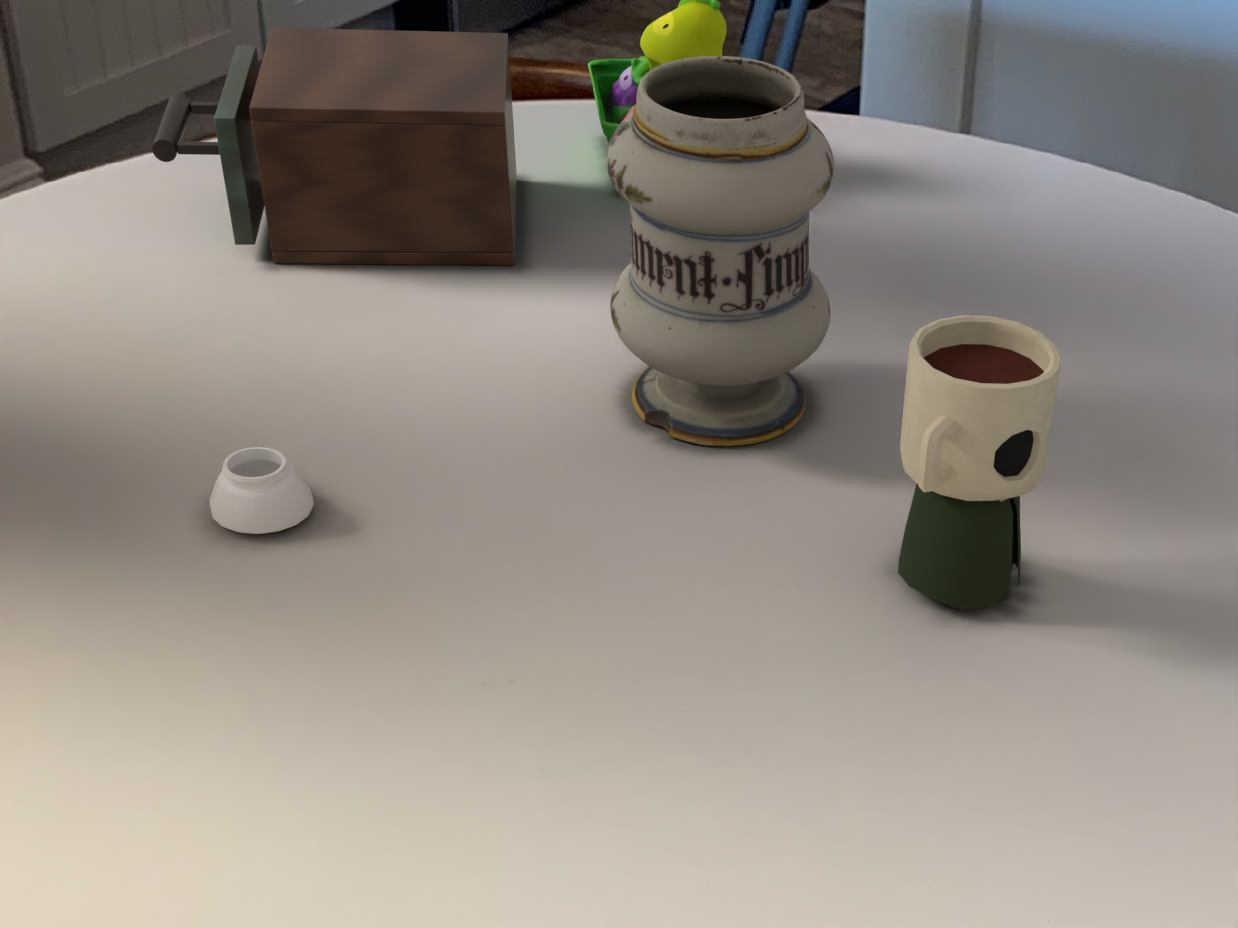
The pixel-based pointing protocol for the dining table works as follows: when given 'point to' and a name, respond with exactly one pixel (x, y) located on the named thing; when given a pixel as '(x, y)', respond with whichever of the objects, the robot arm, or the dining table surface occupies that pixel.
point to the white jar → (259, 493)
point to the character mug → (973, 452)
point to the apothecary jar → (720, 247)
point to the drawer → (224, 141)
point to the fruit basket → (656, 56)
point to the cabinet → (386, 147)
